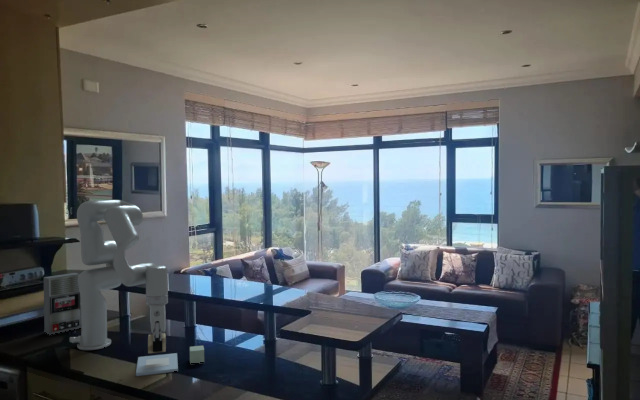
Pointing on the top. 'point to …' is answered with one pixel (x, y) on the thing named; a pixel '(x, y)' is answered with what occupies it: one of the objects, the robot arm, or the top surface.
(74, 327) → the cassette tape recorder
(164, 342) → the birch block
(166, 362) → the board
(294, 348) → the top surface
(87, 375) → the top surface
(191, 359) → the sage block
